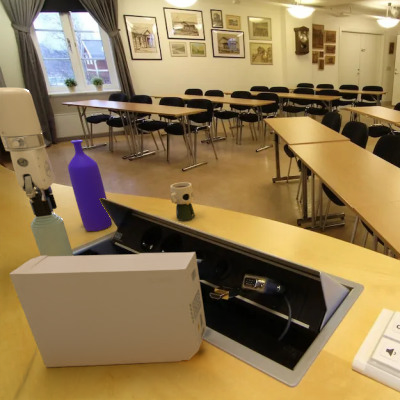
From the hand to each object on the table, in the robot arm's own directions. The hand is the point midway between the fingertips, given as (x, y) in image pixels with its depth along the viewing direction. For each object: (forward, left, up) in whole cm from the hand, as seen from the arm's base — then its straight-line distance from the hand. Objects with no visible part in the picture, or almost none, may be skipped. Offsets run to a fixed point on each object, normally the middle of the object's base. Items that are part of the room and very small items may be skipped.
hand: (46, 211), depth 83 cm
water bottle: (-1, 0, -16) cm, 16 cm away
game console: (+19, -42, -16) cm, 49 cm away
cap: (-1, 0, 0) cm, 1 cm away
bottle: (+5, +24, -16) cm, 29 cm away
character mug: (+33, +20, -16) cm, 42 cm away
